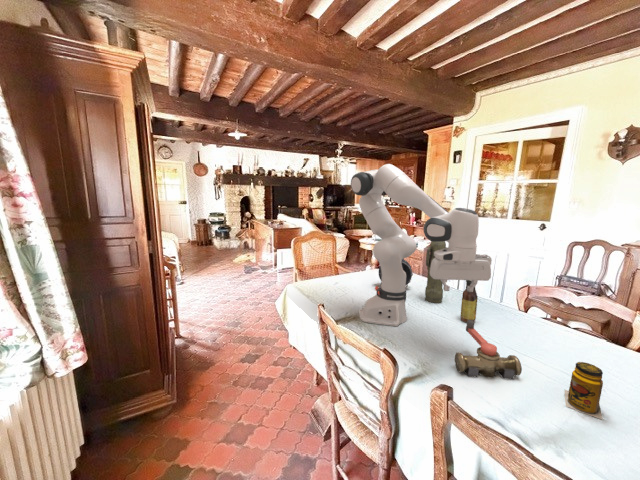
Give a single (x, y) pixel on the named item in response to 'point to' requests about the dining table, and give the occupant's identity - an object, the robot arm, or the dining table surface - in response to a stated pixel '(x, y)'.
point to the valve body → (488, 365)
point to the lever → (481, 340)
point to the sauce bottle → (469, 304)
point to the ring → (406, 268)
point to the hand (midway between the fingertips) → (458, 291)
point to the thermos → (433, 285)
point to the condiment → (585, 389)
